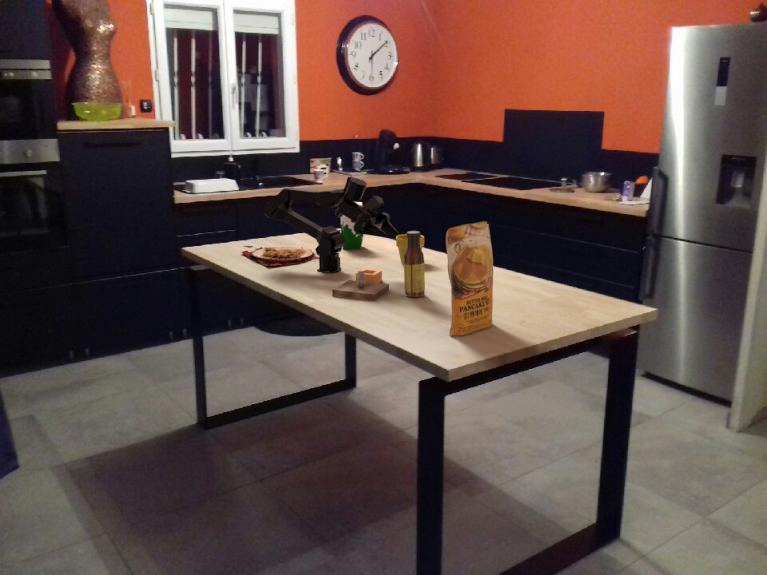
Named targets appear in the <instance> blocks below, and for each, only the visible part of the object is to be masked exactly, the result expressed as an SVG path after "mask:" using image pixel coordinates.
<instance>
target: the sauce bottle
mask: <svg viewBox="0 0 767 575" xmlns="http://www.w3.org/2000/svg"><path fill="white" fill-rule="evenodd" d="M406 234H407V239H408V244H407V249H406V251H405V253H404V264H403V273H404V275H403V276H404V278H403V279H404V281H403V282H404V283H403V284H404V294H405V296H406V297H407V298H417V299H418V298H421V297H424V296H425V292H426V291H425V290H426V282H425V280H426V278H425V274H426V273H425V256H424V253H423V250H421V248H420V235H421V232H420V231H417V230H410V231H407V232H406Z"/></svg>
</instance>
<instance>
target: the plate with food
mask: <svg viewBox="0 0 767 575" xmlns="http://www.w3.org/2000/svg"><path fill="white" fill-rule="evenodd" d="M243 247H244V248H245V247H246V248H249V249H251V248H254V246H253V245H243ZM240 252H241V254H242V255H245V256H246V258H250V259H252V260H253V261H255V259H254V258H253V257H255V258H256V263H259V264H260V265H262V266H265V267H266V266H267V267H277V266H286V265H287V266H288V265H296V264H297V265H300V264H306V263H308V262H310V261H313V260H319V255H317V254H316V252H313V251H312V249H307V248H303V247H292V246H289V247H288V246H281V247H280V246H279V247H278V246H275V247H271V246H269V247H266V246H265V247H264V248H263V247H262V246H260V247H258V248H255V249H254V250H253V251H248V250H243V251H240ZM314 262H317V261H314Z"/></svg>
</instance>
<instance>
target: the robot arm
mask: <svg viewBox="0 0 767 575" xmlns="http://www.w3.org/2000/svg"><path fill="white" fill-rule="evenodd" d="M367 185H368V183H367V182H366V181H365V180H363V179H360V178H357V177H354V176H348V177H347V178H346V182H345V185H344V187H343V189H342V190H341V189H338V188H335V189H327V190H326V189H325V190H314V189H306V188H296V187H292V186H290V187H286V188H285V187H284V188H282V190H280V191H279V193H278V194H276V195H275V196H273V198H271V199H270V200H269V201H267V202H265V204H264V206H263V212H264V215H265V216H266V218H269V219H272V220H275V221H280V222H281V221H282V222H285V223H287V224H289V225H290V226H292V227H293V228H295V229H297V230H299V231H300V232H302V233H304V234H306V235H308V236H310V237H311V238H313V239H314V240H316V242H317V244H318V245H317V246H316V247H315V249H314V250H315V254H316V256H318V255H319V256H318V257H319V259H318V266H319V268H318V269H316V271H317V272H322V273H323V272H324V273H332V274H333V273H336V272H337V271H339V270H341V269H342V267H341V257H340V253H341V251H342V250H343V246H344V244H345V238H344V235H343V234H342V233H341V229H340V230H339V229H337V228H336V227H335V226H332V225H329V226H326V227H322V226H321V225H318V224H317V223H315V222H314V221H311V220H310V219H308V218H306V217H304V216H303V215H301V214H299V213H298V212H295V211H294V210H293V209H292V207H291V205H292V203H293V201H298V202H299V201H300V202H308V203H309V202H310V203H314V204H317V205H319V206H321V207H324V208H327V209H330V208H335V207H337V209H334V213H335V218H336V219H338V218H341V217H342V216H343V215H344V216H346V217H347V218H349V219H351V222H352V223H355V224H354V226H353V229H354V231H355V232H356V233H358V234H364V235H365V236H373V237H380V238H387V236H388V235H390V236H398V235H400V232H398V230H397V229H396V228H395V227H394V226H393V225H392V223H391V221H390V218H391V216H390V214H388V213H387V212H381V213H378V212H377V211H378V210H379V209H380V208H381V207H382V206H384V205H385V203H384V199H383V198H382V197H380V196H379V195H373V196H372V197H371V198H369V200H367V201H366V202H365V204H363V205H362V206H360V205H359V204H357V203H356V202H358V201H361V200H362V197H363V195H364V193H365V191H366V188H367ZM361 229H362V230H361ZM364 235H363V236H364ZM339 252H340V253H339Z"/></svg>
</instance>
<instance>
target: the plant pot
mask: <svg viewBox="0 0 767 575" xmlns="http://www.w3.org/2000/svg"><path fill="white" fill-rule="evenodd" d="M407 244H408V239H407V233H405V234H398V236H396V237H395V247H397V249H398V254H399V258H400V263H401V264H403V265H404V253H405V251H406V249H407ZM423 247H425V236H424V235H422V234H420V248H421V250H422V249H423ZM422 251H423V250H422Z"/></svg>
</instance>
